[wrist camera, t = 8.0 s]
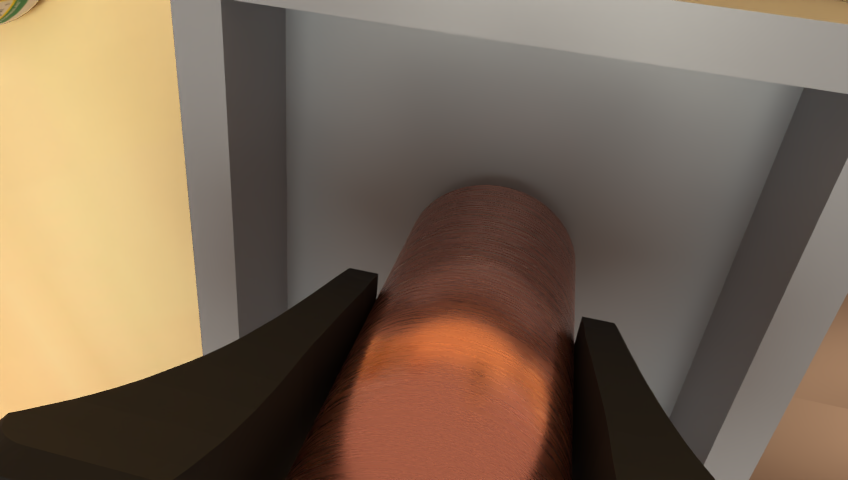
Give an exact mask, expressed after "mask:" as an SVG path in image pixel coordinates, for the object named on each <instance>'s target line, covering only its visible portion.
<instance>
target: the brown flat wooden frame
mask: <svg viewBox="0 0 848 480" xmlns="http://www.w3.org/2000/svg"><path fill="white" fill-rule="evenodd" d="M749 480H848V293H847V295H846V297H845V299H844V301H843V303H842V305H841V307H840V309H839V310H838V312H837V314H836V316H835V318H834V320H833V322H832V324H831V326H830V327H829V329H828V331H827V333H826V335H825V337H824V339H823V341H822V343H821V344H820V346H819V348H818V350H817V352H816V354H815V356H814V358H813V360H812V361H811V363H810V365H809V367H808V369H807V371H806V373H805V375H804V377H803V379H802V380H801V382H800V384H799V386H798V388H797V390H796V392H795V394H794V396H793V397H792V399H791V401H790V403H789V405H788V407H787V409H786V411H785V413H784V414H783V416H782V418H781V420H780V422H779V424H778V426H777V428H776V430H775V431H774V433H773V435H772V437H771V439H770V441H769V443H768V445H767V447H766V449H765V450H764V452H763V454H762V456H761V458H760V460H759V462H758V464H757V466H756V467H755V469H754V471H753V473H752V475H751V477H750V479H749Z"/></svg>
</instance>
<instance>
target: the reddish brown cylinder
mask: <svg viewBox="0 0 848 480" xmlns="http://www.w3.org/2000/svg"><path fill="white" fill-rule="evenodd" d="M575 271H576V263H575V252H574V247H573V244H572V241H571V238H570V236H569V234H568V232H567V230H566V228H565V226H564V225H563V223H562V222H561V221H560V219H559V218H558V217H557V216H556V215H555V214H554V213H553V212H552V210H550V209H549V208H548V207H547V206H546V205H544V204H543V203H542V202H540V201H539V200H537V199H535V198H534V197H532V196H530V195H528V194H526V193H524V192H521V191H518V190H515V189H512V188H508V187H503V186H497V185H474V186H467V187H463V188H460V189H456V190H453V191H451V192H449V193H446V194H444V195H443V196H441V197H439V198H438V199H436V200H435V201H434V202H432V203H431V204H430V205H429V206H428V207H427V208H426V209H425V210H424V211H423V212H422V213H421V215H420V216H419V218H418V219H417V221H416V222H415V224H414V226H413V228H412V230H411V232H410V234H409V236H408V238H407V240H406V242H405V244H404V246H403V248H402V250H401V252H400V254H399V256H398V258H397V260H396V262H395V264H394V266H393V268H392V270H391V272H390V274H389V276H388V278H387V279H386V281H385V283H384V285H383V287H382V289H381V291H380V293H379V295H378V297H377V299H376V301H375V303H374V305H373V307H372V309H371V311H370V313H369V315H368V317H367V319H366V321H365V323H364V325H363V327H362V329H361V331H360V333H359V335H358V337H357V339H356V341H355V343H354V345H353V347H352V349H351V351H350V353H349V355H348V357H347V358H346V360H345V362H344V364H343V366H342V368H341V370H340V372H339V374H338V376H337V378H336V380H335V382H334V384H333V386H332V388H331V390H330V392H329V394H328V396H327V398H326V400H325V402H324V404H323V406H322V408H321V410H320V412H319V414H318V416H317V418H316V420H315V422H314V424H313V426H312V428H311V430H310V432H309V434H308V436H307V438H306V439H305V441H304V443H303V445H302V447H301V449H300V451H299V453H298V455H297V457H296V459H295V461H294V463H293V465H292V467H291V469H290V471H289V473H288V475H287V477H286V479H285V480H572V438H573V382H574V327H575Z"/></svg>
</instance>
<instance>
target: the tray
mask: <svg viewBox="0 0 848 480" xmlns="http://www.w3.org/2000/svg"><path fill="white" fill-rule="evenodd" d="M170 1H171V12H172V23H173V34H174V45H175V56H176V67H177V78H178V88H179V99H180V110H181V121H182V132H183V143H184V154H185V164H186V175H187V186H188V197H189V208H190V219H191V230H192V241H193V251H194V262H195V273H196V284H197V295H198V306H199V317H200V328H201V338H202V349H203V356H204V355H206V354H208V353H211V352H213V351H215V350H217V349H219V348H221V347H224V346H226V345H228V344H230V343H232V342H234V341H236V340H238V339H239V338H241V337H243V336H245V335H247V334H249V333H250V332H252V331H254V330H255V329H257V328H259V327H261V326H262V325H264V324H266V323H267V322H269V321H271V320H273V319H274V318H276V317H277V316H279V315H281V314H282V313H284V312H285V311H287V310H288V309H290V308H291V307H293V306H294V305H296V304H297V303H299V302H300V301H302V300H303V299H305V298H306V297H308V296H309V295H311V294H312V293H314V292H315V291H316V290H318V289H319V288H321V287H322V286H324V285H325V284H326V283H328V282H329V281H331V280H332V279H334V278H335V277H336V276H338V275H339V274H341V273H342V272H344V271H345V270H347V269H349V268H353V269H358V270H362V271H367V272H372V273H377V274H378V286H377V297H378V295H379V293H380V291H381V289H382V287H383V285H384V283H385V281H386V279H387V278H388V276H389V274H390V272H391V270H392V268H393V266H394V264H395V262H396V260H397V258H398V256H399V254H400V252H401V250H402V248H403V246H404V244H405V242H406V240H407V238H408V236H409V234H410V232H411V230H412V228H413V226H414V224H415V222H416V221H417V219H418V218H419V216H420V215H421V213H422V212H423V211H424V210H425V209H426V208H427V207H428V206H429V205H430V204H431V203H432V202H434V201H435V200H436V199H438V198H439V197H441V196H443V195H444V194H446V193H449V192H451V191H453V190H456V189H460V188H463V187H467V186H474V185H497V186H503V187H508V188H512V189H515V190H518V191H521V192H524V193H526V194H528V195H530V196H532V197H534V198H535V199H537V200H539V201H540V202H542V203H543V204H544V205H546V206H547V207H548V208H549V209H550V210H552V212H553V213H554V214H555V215H556V216H557V217H558V218H559V219H560V221H561V222H562V223H563V225H564V226H565V228H566V230H567V232H568V234H569V236H570V238H571V241H572V244H573V247H574V252H575V263H576V271H575V327H574V343H575V340H576V336H577V333H578V329H579V326H580V322H581V319H582V316H583V317H588V318H592V319H597V320H602V321H607V322H612V323H615V325H616V326H617V328H618V329H619V331H620V333H621V335H622V337H623V339H624V341H625V343H626V345H627V347H628V349H629V351H630V353H631V355H632V357H633V359H634V360H635V362H636V364H637V366H638V368H639V370H640V371H641V373H642V375H643V377H644V378H645V380H646V382H647V384H648V385H649V387H650V389H651V390H652V392H653V394H654V395H655V397H656V398H657V400H658V402H659V403H660V405H661V407H662V408H663V410H664V411H665V413H666V414H667V416H668V418H669V419H670V421H671V422H672V423H673V425H674V426H675V428H676V429H677V431H678V432H679V434H680V435H681V436H682V438H683V439H684V441H685V442H686V444H687V445H688V446H689V448H690V449H691V450H692V451H693V453H694V454H695V455H696V457H697V458H698V459H699V460H700V461H701V463H702V464H703V465H704V466H705V468H706V469H707V470H708V471H709V472H710V474H711V475H712V476H713V477H714V478H715V480H749V479H750V477H751V475H752V473H753V471H754V469H755V467H756V466H757V464H758V462H759V460H760V458H761V456H762V454H763V452H764V450H765V449H766V447H767V445H768V443H769V441H770V439H771V437H772V435H773V433H774V431H775V430H776V428H777V426H778V424H779V422H780V420H781V418H782V416H783V414H784V413H785V411H786V409H787V407H788V405H789V403H790V401H791V399H792V397H793V396H794V394H795V392H796V390H797V388H798V386H799V384H800V382H801V380H802V379H803V377H804V375H805V373H806V371H807V369H808V367H809V365H810V363H811V361H812V360H813V358H814V356H815V354H816V352H817V350H818V348H819V346H820V344H821V343H822V341H823V339H824V337H825V335H826V333H827V331H828V329H829V327H830V326H831V324H832V322H833V320H834V318H835V316H836V314H837V312H838V310H839V309H840V307H841V305H842V303H843V301H844V299H845V297H846V295H847V293H848V1H841V0H170ZM376 299H377V298H376Z"/></svg>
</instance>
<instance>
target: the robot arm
mask: <svg viewBox="0 0 848 480" xmlns="http://www.w3.org/2000/svg"><path fill="white" fill-rule="evenodd" d="M377 286H378V274H377V273H372V272H367V271H362V270H358V269H353V268H349V269H347V270H345V271H344V272H342V273H341V274H339V275H338V276H336V277H335V278H334V279H332V280H331V281H329V282H328V283H326V284H325V285H324V286H322V287H321V288H319V289H318V290H316V291H315V292H314V293H312V294H311V295H309V296H308V297H306V298H305V299H303V300H302V301H300V302H299V303H297V304H296V305H294V306H293V307H291V308H290V309H288V310H287V311H285V312H284V313H282V314H281V315H279V316H277V317H276V318H274V319H273V320H271V321H269V322H267V323H266V324H264V325H262V326H261V327H259V328H257V329H255V330H254V331H252V332H250V333H249V334H247V335H245V336H243V337H241V338H239V339H238V340H236V341H234V342H232V343H230V344H228V345H226V346H224V347H221V348H219V349H217V350H215V351H213V352H211V353H208V354H206V355H204V356H202V357H200V358H197V359H195V360H193V361H190V362H187V363H185V364H182V365H180V366H177V367H174V368H172V369H169V370H166V371H164V372H161V373H159V374H156V375H153V376H151V377H148V378H145V379H142V380H139V381H136V382H133V383H130V384H126V385H123V386H120V387H117V388H113V389H110V390H106V391H103V392H99V393H96V394H92V395H88V396H84V397H80V398H76V399H72V400H68V401H63V402H59V403H54V404H50V405H45V406H40V407H36V408H31V409H27V410H22V411H17V412H11V413H8V414H7V415H6V416H4V417H3V418H2V419H1V420H0V480H285V479H286V477H287V475H288V473H289V471H290V469H291V467H292V465H293V463H294V461H295V459H296V457H297V455H298V453H299V451H300V449H301V447H302V445H303V443H304V441H305V439H306V438H307V436H308V434H309V432H310V430H311V428H312V426H313V424H314V422H315V420H316V418H317V416H318V414H319V412H320V410H321V408H322V406H323V404H324V402H325V400H326V398H327V396H328V394H329V392H330V390H331V388H332V386H333V384H334V382H335V380H336V378H337V376H338V374H339V372H340V370H341V368H342V366H343V364H344V362H345V360H346V358H347V357H348V355H349V353H350V351H351V349H352V347H353V345H354V343H355V341H356V339H357V337H358V335H359V333H360V331H361V329H362V327H363V325H364V323H365V321H366V319H367V317H368V315H369V313H370V311H371V309H372V307H373V305H374V303H375V301H376V298H377ZM572 480H715V478H714V477H713V476H712V475H711V474H710V472H709V471H708V470H707V469H706V468H705V466H704V465H703V464H702V463H701V461H700V460H699V459H698V458H697V457H696V455H695V454H694V453H693V451H692V450H691V449H690V448H689V446H688V445H687V444H686V442H685V441H684V439H683V438H682V436H681V435H680V434H679V432H678V431H677V429H676V428H675V426H674V425H673V423H672V422H671V421H670V419H669V418H668V416H667V414H666V413H665V411H664V410H663V408H662V407H661V405H660V403H659V402H658V400H657V398H656V397H655V395H654V394H653V392H652V390H651V389H650V387H649V385H648V384H647V382H646V380H645V378H644V377H643V375H642V373H641V371H640V370H639V368H638V366H637V364H636V362H635V360H634V359H633V357H632V355H631V353H630V351H629V349H628V347H627V345H626V343H625V341H624V339H623V337H622V335H621V333H620V331H619V329H618V328H617V326H616V325H615V323H612V322H607V321H602V320H597V319H592V318H588V317H583V316H582V319H581V322H580V326H579V329H578V333H577V336H576V340H575V343H574V382H573V438H572Z"/></svg>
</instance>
